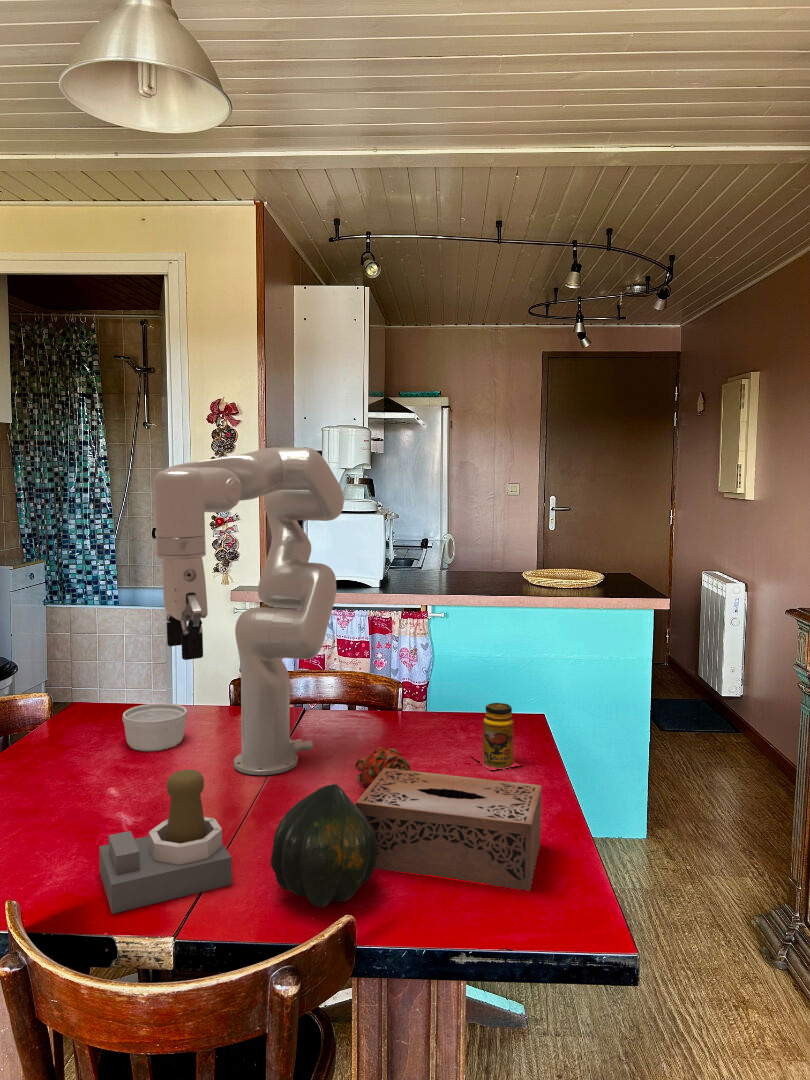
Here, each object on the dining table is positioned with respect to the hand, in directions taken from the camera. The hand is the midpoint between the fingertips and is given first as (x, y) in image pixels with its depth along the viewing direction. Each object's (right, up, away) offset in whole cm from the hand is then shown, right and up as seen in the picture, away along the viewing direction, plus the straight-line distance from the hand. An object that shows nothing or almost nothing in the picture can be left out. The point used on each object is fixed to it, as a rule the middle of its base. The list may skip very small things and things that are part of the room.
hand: (184, 651), depth 126 cm
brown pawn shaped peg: (+4, -27, -14) cm, 30 cm away
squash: (+24, -31, -17) cm, 43 cm away
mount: (+1, -30, -15) cm, 34 cm away
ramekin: (-18, -26, +41) cm, 52 cm away
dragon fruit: (+32, -28, +17) cm, 46 cm away
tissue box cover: (+43, -31, -7) cm, 53 cm away
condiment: (+54, -27, +32) cm, 69 cm away
